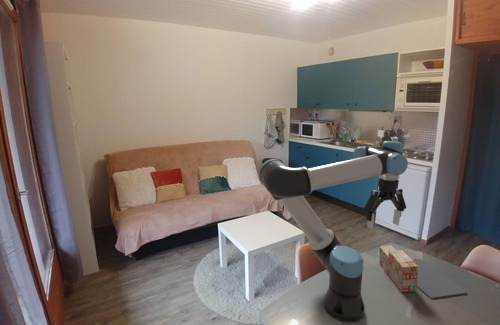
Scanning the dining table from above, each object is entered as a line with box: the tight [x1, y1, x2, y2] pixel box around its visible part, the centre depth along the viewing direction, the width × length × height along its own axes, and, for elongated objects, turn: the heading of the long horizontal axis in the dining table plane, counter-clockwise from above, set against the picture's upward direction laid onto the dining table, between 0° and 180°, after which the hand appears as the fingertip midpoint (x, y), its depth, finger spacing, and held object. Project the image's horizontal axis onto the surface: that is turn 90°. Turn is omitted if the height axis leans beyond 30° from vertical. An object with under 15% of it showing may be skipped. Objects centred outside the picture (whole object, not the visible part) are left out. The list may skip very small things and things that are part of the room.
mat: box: [411, 258, 468, 300], centre depth 124 cm, size 17×26×1 cm, turn 9°
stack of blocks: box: [378, 245, 418, 293], centre depth 123 cm, size 21×6×12 cm, turn 179°
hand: (383, 225), depth 117 cm, fingers open, 13 cm apart
